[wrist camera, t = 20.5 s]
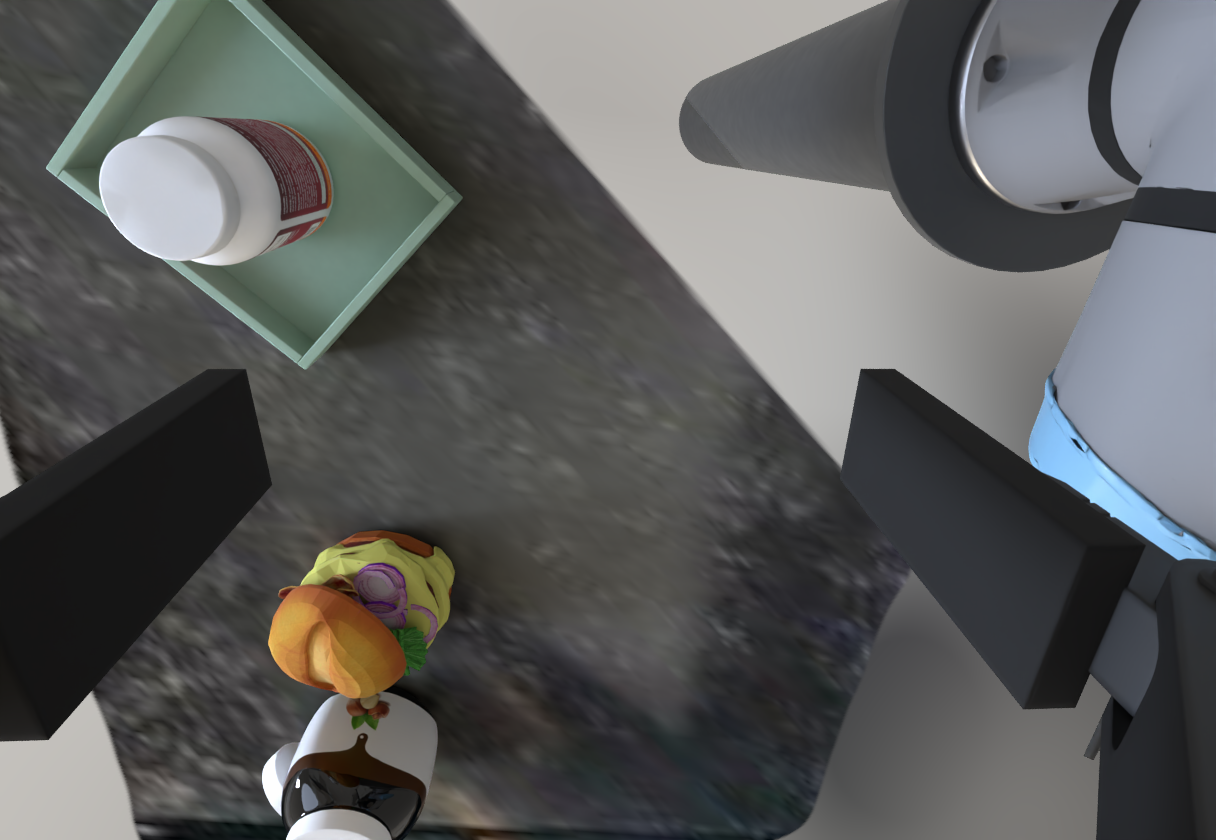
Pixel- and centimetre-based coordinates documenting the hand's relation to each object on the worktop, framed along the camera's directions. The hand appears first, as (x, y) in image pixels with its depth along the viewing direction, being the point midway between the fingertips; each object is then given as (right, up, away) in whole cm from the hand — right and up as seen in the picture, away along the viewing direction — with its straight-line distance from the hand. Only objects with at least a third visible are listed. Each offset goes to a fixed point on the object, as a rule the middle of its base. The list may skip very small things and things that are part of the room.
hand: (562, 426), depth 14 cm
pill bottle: (-17, +13, +21) cm, 30 cm away
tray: (-17, +13, +21) cm, 31 cm away
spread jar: (-19, -25, +39) cm, 50 cm away
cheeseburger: (-16, -12, +33) cm, 38 cm away
